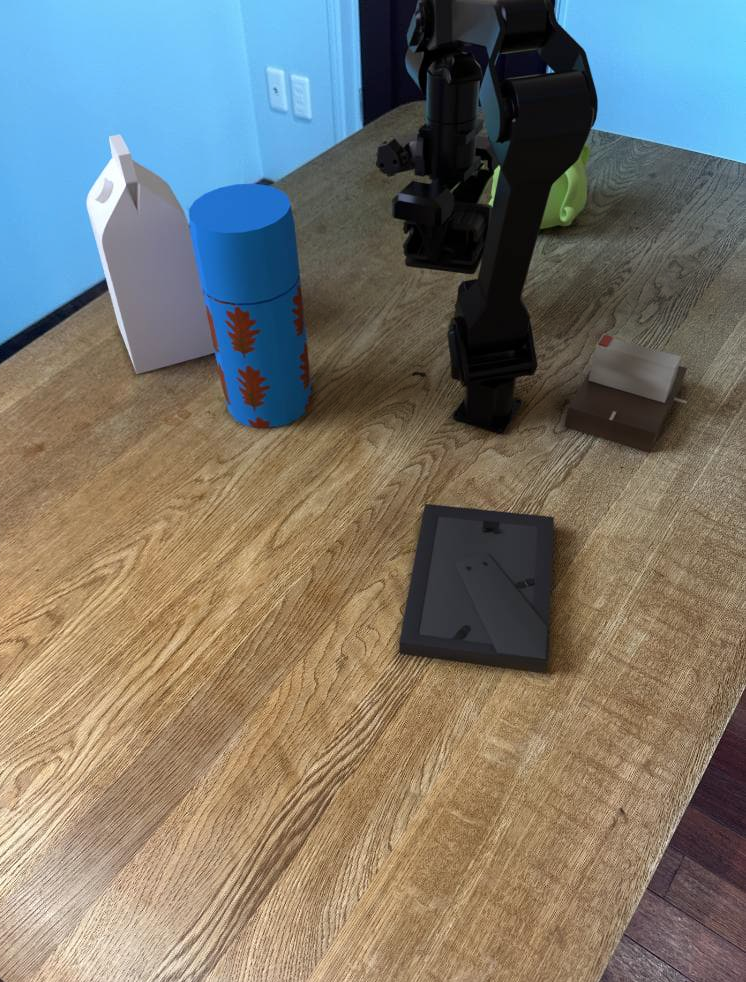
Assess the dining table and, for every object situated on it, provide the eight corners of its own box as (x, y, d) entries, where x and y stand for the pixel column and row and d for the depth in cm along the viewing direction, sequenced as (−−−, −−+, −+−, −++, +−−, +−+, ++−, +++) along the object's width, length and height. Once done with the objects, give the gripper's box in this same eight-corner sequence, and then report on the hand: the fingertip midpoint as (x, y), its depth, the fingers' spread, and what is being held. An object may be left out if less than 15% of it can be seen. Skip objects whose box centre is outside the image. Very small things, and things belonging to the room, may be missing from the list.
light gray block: (670, 392, 93) (682, 354, 90) (664, 403, 92) (676, 365, 88) (594, 370, 97) (603, 333, 93) (588, 380, 96) (596, 343, 92)
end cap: (491, 248, 104) (495, 196, 99) (478, 275, 100) (482, 222, 95) (415, 239, 107) (416, 188, 102) (400, 266, 102) (399, 214, 97)
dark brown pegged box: (663, 457, 91) (670, 436, 88) (550, 423, 96) (554, 402, 93) (694, 391, 98) (701, 369, 96) (588, 362, 103) (592, 341, 101)
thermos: (300, 433, 97) (276, 236, 78) (215, 425, 99) (172, 231, 80) (320, 377, 104) (302, 184, 85) (240, 371, 106) (205, 180, 87)
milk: (220, 351, 109) (181, 154, 89) (136, 374, 106) (77, 177, 87) (197, 306, 116) (156, 115, 97) (118, 326, 114) (60, 135, 95)
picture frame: (545, 673, 73) (551, 529, 85) (548, 660, 72) (554, 514, 83) (399, 653, 76) (424, 515, 87) (399, 640, 74) (424, 501, 85)
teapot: (466, 230, 126) (471, 148, 117) (496, 190, 134) (503, 109, 125) (568, 249, 121) (582, 164, 112) (593, 205, 129) (608, 122, 120)
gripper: (423, 77, 99) (421, 203, 110) (348, 135, 88) (354, 267, 100) (509, 89, 95) (498, 218, 106) (441, 151, 84) (437, 287, 96)
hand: (446, 245), depth 102 cm, fingers closed on end cap, 7 cm apart
